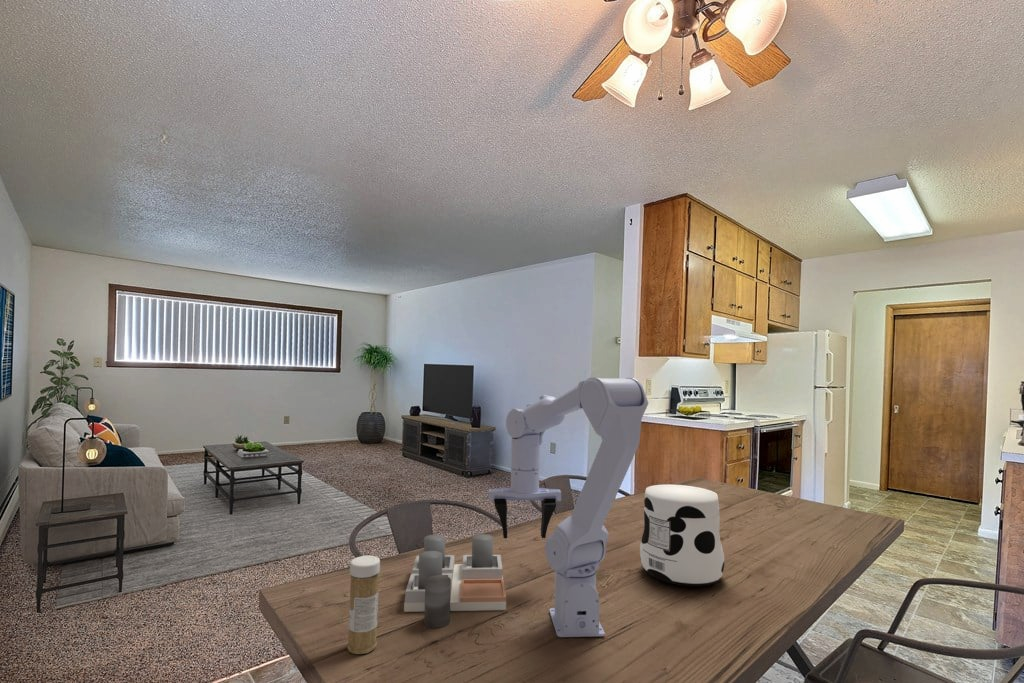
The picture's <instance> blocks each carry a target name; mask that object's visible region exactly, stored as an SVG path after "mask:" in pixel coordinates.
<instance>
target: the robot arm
mask: <svg viewBox="0 0 1024 683" xmlns="http://www.w3.org/2000/svg"><path fill="white" fill-rule="evenodd" d="M646 394H647V393H646V392H645V388H644V387H643V385H642V384H641V382H640V381H639V380H638V379H637V378H634V377H625V378H620V377H619V378H617V377H616V378H613V377H612V378H609V377H607V378H606V377H603V378H602V377H595V376H591V377H589V378H587V379H586V380H581V381H579V382H578V385H577V386H575V387H573V388H572V389H570V390H568V391H566V392H564V393H563V394H560V395H559V396H558V397H555V396H552V395H550V396H549V394H548V395H547V394H542V395H541V396H539V397H538V398H539V400H537V401H536V402H534V403H533V402H531V403H527V404H526V405H525V407H524V408H522V409H521V408H520V409H519V408H515V407H514V408H512V409H511V410H509V412H508V413H507V416H506V420H505V427H506V431H507V433H508V435H509V436H510V437H511V449H510V450H511V452H510V453H511V454H510V455H511V457H510V462H511V463H510V465H511V466H510V487H507V488H489V489H488V501H489V502H494V507H495V510H496V512H497V514H498V517H499V521H500V523H501V524H500V525H501V527H502V528H501V529H502V538H503V539H508V525H507V523H508V521H507V518H508V503H507V501H540V503H541V524H540V536H541V539H546V541H545V545H544V553H545V558H546V561H547V563H548V565H549V566H550V568H551V570H553V571H554V607H551V608H549V614H550V618H551V621H552V624H553V627H554V630H555V634H556V636H557V637H558V638H581V637H582V638H584V637H586V638H587V637H589V638H590V637H604V636H605V635H606V632H605V630H604V628H603V627H602V624H601V622H600V596H599V593H598V591H597V570H599V569H600V562H603V561H604V559H605V557H606V553H607V541H608V539H609V537H610V534H609V531H608V529H607V528H606V526H605V525H604V524H605V522H606V520H607V516H608V514H609V512H610V511H611V508H612V506H613V504H614V502H615V499H616V497H617V495H618V493H619V491H620V488H621V486H622V484H623V481H624V479H625V477H626V476H627V473H628V470H629V469H630V466H631V464H632V461H633V459H634V457H635V455H636V452H637V450H638V449H639V446H640V441H641V429H642V419H643V418H644V415H645V412H646V410H647V407H648V405H649V401H648V398H647V395H646ZM579 410H583V411H584V414H585V415H586V417H587V419H588V421H589V422H590V425H591V426H592V428H593V430H594V432H595V433H596V435H597V436H599V437H601V443H600V445H599V448H598V451H597V452H596V455H595V458H594V460H593V462H592V464H591V467H590V470H588V471H589V472H588V475H587V476H586V479H585V481H584V484H583V486H582V489H581V491H580V493H579V496H578V498H577V500H576V502H575V505H574V507H573V510H572V513H571V514H569V516H568V517H566V518H564V520H562V521H561V522H560V523H558V525H556V526H555V527H556V528H555V529H554V532H553V533H551V534H549V535H548V536H546V535H547V530H548V528H549V524H550V520H551V518H552V516H553V515H554V513H555V511H556V508H557V502H561V501H562V491H561V489H557V488H556V489H555V488H541V487H540V446H541V445H542V443H543V436H544V434H545V432H546V431H547V430H550V429H552V428H554V427H557V426H559V425H561V424H562V422H563V421H564V420H565V415H568V414H571V413H574V412H575V411H576V412H577V411H579ZM546 537H547V538H546Z"/></svg>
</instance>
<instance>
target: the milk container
mask: <svg viewBox="0 0 1024 683" xmlns="http://www.w3.org/2000/svg"><path fill="white" fill-rule="evenodd" d="M643 501H644V502H643V504H644V507H643V516H644V517H643V519H644V520H643V521H644V524H643V526H644V527H643V531H642V536H641V540H640V543H639V555H640V561H641V565H642V567H643V569H644V570H645V572H646V573H648V574H649V575H650V576H652V577H654V578H656V579H657V580H659V581H662V582H664V583H667V584H673V585H677V586H682V587H683V586H684V587H705V586H709V585H712V584H715V583H717V582H718V581H719V580H720V579H721V578H722V576H723V574H724V568H725V552H724V549H723V546H722V541H721V537H720V523H721V522H720V518H721V516H720V502H719V497H718V493H717V492H714V491H713V490H710V489H707V488H704V487H698V486H692V485H683V484H656V485H655V484H654V485H649V486H647V487H646V488H645V492H644V500H643Z"/></svg>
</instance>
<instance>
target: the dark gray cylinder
mask: <svg viewBox="0 0 1024 683" xmlns="http://www.w3.org/2000/svg"><path fill="white" fill-rule="evenodd" d="M450 595H451V579H450V578H449V577H447V576H443V575H435V576H431V577H428V578H427V579H426V580H425V611H424V615H423V617H424V620H423V622H424V625H425V626H426V627H427V628H430V629H431V628H432V629H440V628H444V627H447V626H448V625H449V624H450V623H451V611H450Z"/></svg>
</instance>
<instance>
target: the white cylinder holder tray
mask: <svg viewBox="0 0 1024 683" xmlns="http://www.w3.org/2000/svg"><path fill="white" fill-rule="evenodd" d="M502 563H503V562H502V556H501V554H494V536H492V535H491V534H486V533H484V534H483V533H482V534H480V533H479V534H474V535H473V536H472V537H471V554H463V556H462V564H461V563H458V564H457V563H456V564H455V554H453V555H452V554H446V536H445V535H443V534H428V535H426V536H424V537H423V551H422V552H421V553H419V554H418V555H416V557H415V560H414V563H413V567H412V570H411V573H410V576H409V579H408V583H407V586H406V589H405V595H404V596H405V599H404V602H403V613H408V612H409V613H411V612H417V613H418V612H425V580H426V579H427V578H428V577H431V576H435V575H443V576H447V577H449V578H450V579H451V595H450V612H466V611H467V612H468V611H469V612H470V611H471V612H472V611H473V612H474V611H475V612H477V611H507V593H506V586H505V580H504V577H503V564H502Z"/></svg>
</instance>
